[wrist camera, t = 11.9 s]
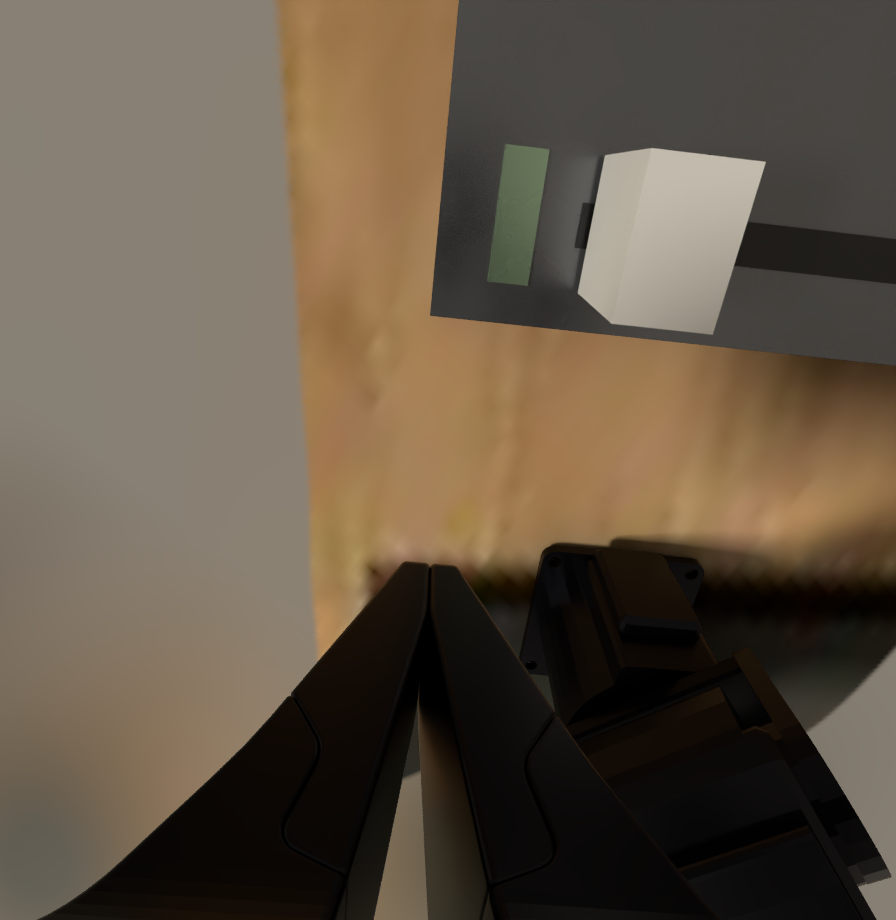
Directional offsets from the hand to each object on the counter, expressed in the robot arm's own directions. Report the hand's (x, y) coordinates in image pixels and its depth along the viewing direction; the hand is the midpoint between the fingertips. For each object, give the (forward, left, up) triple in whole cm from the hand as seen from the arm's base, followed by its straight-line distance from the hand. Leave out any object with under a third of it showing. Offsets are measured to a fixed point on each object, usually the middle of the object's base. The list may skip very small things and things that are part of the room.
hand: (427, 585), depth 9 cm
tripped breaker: (+5, -5, -10) cm, 12 cm away
